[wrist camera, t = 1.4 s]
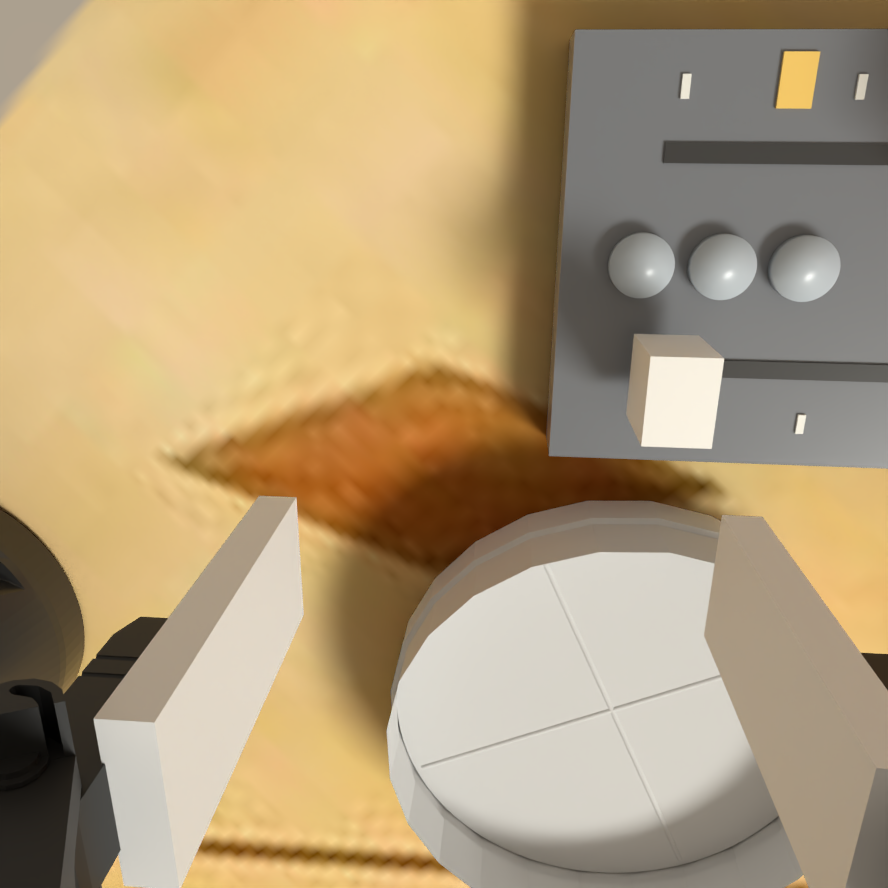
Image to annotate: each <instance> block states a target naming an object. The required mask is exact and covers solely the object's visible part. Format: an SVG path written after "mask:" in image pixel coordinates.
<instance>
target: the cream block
mask: <svg viewBox="0 0 888 888" xmlns="http://www.w3.org/2000/svg"><path fill="white" fill-rule="evenodd" d="M723 364H724V358H723V357H722V356H721V355H720V354H719V353H718V352H717V351H716V350H714V349H713V348H712V347H711V346H710V345H709V344H708V343H707V342H706V341H704V340H703V339H702V338H701V337H700V336H699V335H662V334H634V339H633V349H632V359H631V369H630V380H629V390H628V400H627V411H626V415H627V417H628V419H629V422H630V424H631V426H632V428H633V430H634V432H635V434H636V436H637V439H638V441H639V443H640V445H641V446H644V447H672V448H700V449H712V443H713V436H714V429H715V422H716V414H717V407H718V400H719V393H720V386H721V379H722V372H723Z"/></svg>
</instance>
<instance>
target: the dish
mask: <svg viewBox="0 0 888 888" xmlns="http://www.w3.org/2000/svg"><path fill="white" fill-rule="evenodd" d="M720 525H721V521H720V520H718V519H716V518H714V517H712V516H710V515H706V514H702V513H698V512H694V511H690V510H686V509H682V508H678V507H674V506H670V505H665V504H661V503H657V502H653V501H584V502H579V503H575V504H571V505H567V506H562V507H558V508H554V509H549V510H545V511H541V512H537V513H532V514H528V515H526V516H524V517H522V518H520V519H518V520H516V521H514V522H512V523H510V524H508V525H507V526H505V527H503V528H501V529H499V530H497V531H495V532H493V533H491V534H489V535H487V536H485V537H483V538H481V539H480V540H478V541H476V542H474V543H473V544H472V545H471V546H470V547H469V548H468V549H467V550H466V551H465V552H463V553H462V554H461V555H460V556H459V557H458V558H457V559H456V560H455V561H453V562H452V563H451V564H450V565H449V566H448V567H447V568H446V569H445V570H444V571H442V572H441V573H440V574H439V575H438V576H437V577H436V578H435V579H434V581H433V582H432V584H431V585H430V587H429V589H428V590H427V592H426V593H425V595H424V597H423V598H422V600H421V602H420V603H419V605H418V606H417V608H416V610H415V611H414V613H413V614H412V616H411V618H410V619H409V621H408V624H407V628H406V632H405V636H404V640H403V644H402V648H401V652H400V656H399V660H398V664H397V668H396V672H395V675H394V679H393V683H392V687H391V704H392V711H391V715H390V719H389V723H388V727H387V743H388V757H389V771H390V780H391V783H392V785H393V788H394V790H395V793H396V795H397V798H398V800H399V803H400V805H401V808H402V810H403V813H404V815H405V818H406V820H407V823H408V824H409V826H410V827H411V828H412V830H413V831H414V832H415V833H416V835H417V836H418V837H419V838H420V840H421V841H422V842H423V843H424V845H425V846H426V847H427V848H428V850H429V851H430V852H431V854H432V855H433V856H434V857H435V859H436V860H437V861H438V862H439V863H440V864H441V865H442V866H444V867H445V868H446V869H447V870H449V871H450V872H451V873H453V874H454V875H455V876H457V877H458V878H459V879H460V880H462V881H463V882H464V883H466V884H467V885H468V886H470V887H471V888H784V887H786V886H788V885H789V884H791V883H793V882H794V881H796V880H798V879H799V878H800V877H801V876H802V875H803V872H802V870H801V868H800V865H799V863H798V860H797V858H796V856H795V853H794V851H793V848H792V846H791V844H790V841H789V839H788V836H787V834H786V832H785V829H784V827H783V824H782V822H781V820H780V817H779V815H778V812H777V810H776V808H775V805H774V803H773V800H772V798H771V795H770V793H769V791H768V788H767V786H766V783H765V781H764V779H763V776H762V774H761V771H760V769H759V767H758V764H757V762H756V759H755V757H754V755H753V752H752V750H751V747H750V745H749V743H748V740H747V738H746V735H745V733H744V731H743V728H742V726H741V723H740V721H739V719H738V716H737V714H736V711H735V709H734V707H733V704H732V702H731V699H730V697H729V695H728V692H727V690H726V687H725V685H724V683H723V680H722V678H721V675H720V673H719V671H718V668H717V666H716V663H715V661H714V659H713V656H712V654H711V651H710V649H709V647H708V644H707V642H706V639H705V637H704V631H705V625H706V618H707V611H708V605H709V598H710V592H711V585H712V578H713V572H714V565H715V558H716V552H717V545H718V538H719V532H720Z"/></svg>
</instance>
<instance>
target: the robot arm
mask: <svg viewBox="0 0 888 888" xmlns="http://www.w3.org/2000/svg"><path fill="white" fill-rule="evenodd" d="M303 615H304V612H303V596H302V580H301V564H300V548H299V532H298V516H297V500H296V497H274V496H259V497H258V498H257V500H256V501H255V502H254V504H253V505H252V506H251V508H250V509H249V510H248V512H247V513H246V514H245V516H244V517H243V518H242V520H241V521H240V522H239V524H238V525H237V526H236V528H235V529H234V530H233V532H232V533H231V534H230V536H229V537H228V539H227V540H226V541H225V543H224V544H223V545H222V547H221V548H220V549H219V551H218V552H217V553H216V555H215V556H214V557H213V559H212V560H211V561H210V563H209V564H208V565H207V567H206V568H205V569H204V571H203V572H202V573H201V575H200V576H199V577H198V579H197V580H196V582H195V583H194V584H193V586H192V587H191V588H190V590H189V591H188V592H187V594H186V595H185V596H184V598H183V599H182V600H181V602H180V603H179V604H178V606H177V607H176V608H175V610H174V611H173V612H172V614H171V615H170V616H169V618H153V617H140V618H138V619H136V620H135V621H133V622H132V623H130V624H129V625H127V626H126V627H124V628H122V629H121V630H119V631H118V632H116V633H115V634H113V636H112V637H111V638H110V639H109V640H108V642H107V643H106V644H105V645H104V646H103V648H102V649H101V650H100V651H99V652H98V654H97V655H96V659H93V660H92V661H91V662H90V663H89V664H88V665H87V667H86V668H85V669H84V670H83V671H82V676H78V677H77V674H78V672H79V669H80V666H81V663H82V658H83V652H84V626H83V619H82V614H81V610H80V607H79V604H78V600H77V598H76V595H75V593H74V590H73V588H72V586H71V584H70V582H69V580H68V578H67V577H66V575H65V573H64V571H63V570H62V568H61V567H60V565H59V564H58V562H57V561H56V560H55V558H54V557H53V556H52V554H51V553H50V552H49V551H48V550H47V548H46V547H45V546H44V545H43V544H42V543H41V542H40V541H39V540H38V539H37V538H36V537H35V536H34V535H33V534H32V533H31V532H30V531H29V530H28V529H26V528H25V527H24V526H23V525H22V524H20V523H19V522H18V521H16V520H15V519H14V518H12V517H11V516H10V515H8V514H7V513H5V512H4V511H2V510H0V888H102V886H101V884H102V882H103V881H104V879H105V877H106V875H107V873H108V872H109V870H110V868H111V866H112V865H113V863H114V861H115V859H116V857H117V856H118V855H119V861H120V866H121V872H122V877H123V882H124V886H133V887H145V888H181V886H182V884H183V882H184V879H185V877H186V875H187V873H188V871H189V868H190V866H191V864H192V862H193V859H194V857H195V855H196V853H197V851H198V848H199V846H200V844H201V842H202V839H203V837H204V835H205V833H206V831H207V828H208V826H209V824H210V822H211V819H212V817H213V815H214V813H215V811H216V808H217V806H218V804H219V802H220V799H221V797H222V795H223V793H224V791H225V788H226V786H227V784H228V782H229V779H230V777H231V775H232V773H233V771H234V768H235V766H236V764H237V762H238V759H239V757H240V755H241V753H242V751H243V748H244V746H245V744H246V742H247V739H248V737H249V735H250V733H251V731H252V728H253V726H254V724H255V722H256V719H257V717H258V715H259V713H260V711H261V708H262V706H263V704H264V702H265V699H266V697H267V695H268V693H269V691H270V688H271V686H272V684H273V682H274V680H275V677H276V675H277V673H278V671H279V668H280V666H281V664H282V662H283V660H284V657H285V655H286V653H287V651H288V648H289V646H290V644H291V642H292V640H293V637H294V635H295V633H296V631H297V628H298V626H299V624H300V622H301V620H302V617H303ZM704 637H705V639H706V642H707V644H708V647H709V649H710V651H711V654H712V656H713V659H714V661H715V663H716V666H717V668H718V671H719V673H720V675H721V678H722V680H723V683H724V685H725V687H726V690H727V692H728V695H729V697H730V699H731V702H732V704H733V707H734V709H735V711H736V714H737V716H738V719H739V721H740V723H741V726H742V728H743V731H744V733H745V735H746V738H747V740H748V743H749V745H750V747H751V750H752V752H753V755H754V757H755V759H756V762H757V764H758V767H759V769H760V771H761V774H762V776H763V779H764V781H765V783H766V786H767V788H768V791H769V793H770V795H771V798H772V800H773V803H774V805H775V808H776V810H777V812H778V815H779V817H780V820H781V822H782V824H783V827H784V829H785V832H786V834H787V836H788V839H789V841H790V844H791V846H792V848H793V851H794V853H795V856H796V858H797V860H798V863H799V865H800V868H801V870H802V872H803V875H804V877H805V880H806V882H807V884H808V887H809V888H888V654H873V653H860V651H859V650H858V649H857V647H856V646H855V644H854V643H853V642H852V640H851V639H850V638H849V636H848V635H847V633H846V632H845V631H844V629H843V628H842V626H841V625H840V624H839V622H838V621H837V620H836V618H835V617H834V615H833V614H832V613H831V611H830V610H829V608H828V607H827V606H826V604H825V603H824V602H823V600H822V599H821V597H820V596H819V595H818V593H817V592H816V590H815V589H814V588H813V586H812V585H811V583H810V582H809V581H808V579H807V578H806V577H805V575H804V574H803V572H802V571H801V570H800V568H799V567H798V565H797V564H796V563H795V561H794V560H793V559H792V557H791V556H790V554H789V553H788V552H787V550H786V549H785V547H784V546H783V545H782V543H781V542H780V541H779V539H778V538H777V536H776V535H775V534H774V532H773V531H772V529H771V528H770V527H769V525H768V524H767V522H766V521H765V520H764V518H763V517H757V516H733V515H722V518H721V525H720V532H719V538H718V545H717V552H716V558H715V565H714V572H713V578H712V585H711V592H710V598H709V605H708V611H707V618H706V625H705V631H704ZM76 677H77V679H76ZM75 679H76V680H75Z"/></svg>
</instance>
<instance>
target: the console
mask: <svg viewBox="0 0 888 888" xmlns="http://www.w3.org/2000/svg"><path fill="white" fill-rule="evenodd" d="M634 334H662V335H699V336H700V337H701V338H702V339H703V340H704V341H706V342H707V343H708V344H709V345H710V346H711V347H712V348H713V349H714V350H716V351H717V352H718V353H719V354H720V355H721V356H722V357H723V358H724V364H723V372H722V379H721V386H720V393H719V400H718V407H717V414H716V422H715V429H714V436H713V443H712V449H700V448H672V447H644V446H641V445H640V443H639V441H638V439H637V436H636V434H635V432H634V430H633V428H632V426H631V424H630V422H629V419H628V417H627V415H626V411H627V400H628V390H629V380H630V369H631V359H632V349H633V339H634ZM546 439H547V446H548V453H549V456H561V457H588V458H615V459H642V460H669V461H697V462H724V463H751V464H778V465H805V466H832V467H859V468H886V469H888V29H618V30H575V31H574V33H573V35H572V37H571V39H570V43H569V60H568V77H567V93H566V110H565V127H564V144H563V161H562V178H561V194H560V211H559V228H558V245H557V262H556V278H555V295H554V312H553V329H552V346H551V363H550V379H549V396H548V413H547V430H546Z"/></svg>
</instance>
